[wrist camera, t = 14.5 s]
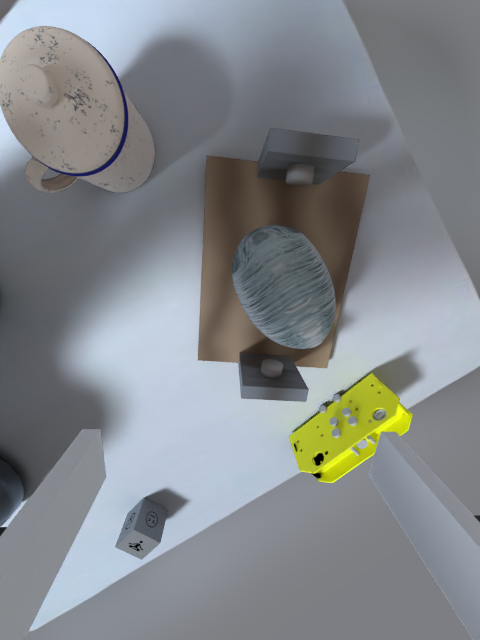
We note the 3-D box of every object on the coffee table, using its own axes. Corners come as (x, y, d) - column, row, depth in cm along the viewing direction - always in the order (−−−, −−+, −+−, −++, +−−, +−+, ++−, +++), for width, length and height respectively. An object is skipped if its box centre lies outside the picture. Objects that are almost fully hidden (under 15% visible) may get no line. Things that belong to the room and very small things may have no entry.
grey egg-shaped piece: (205, 244, 26) (221, 289, 18) (283, 194, 25) (336, 219, 17) (258, 324, 34) (284, 378, 27) (318, 289, 33) (364, 335, 25)
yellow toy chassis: (366, 368, 36) (405, 403, 28) (387, 391, 38) (429, 430, 30) (285, 431, 39) (300, 478, 31) (307, 450, 40) (327, 500, 33)
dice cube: (127, 513, 43) (115, 547, 38) (144, 497, 42) (133, 529, 37) (151, 525, 44) (141, 559, 39) (167, 509, 43) (160, 542, 38)
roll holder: (199, 355, 34) (188, 395, 25) (207, 160, 27) (197, 118, 18) (323, 363, 35) (355, 404, 26) (362, 178, 28) (425, 148, 19)
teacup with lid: (110, 75, 24) (12, -65, 13) (175, 155, 27) (138, 93, 16) (37, 163, 26) (-101, 105, 15) (103, 230, 29) (25, 222, 18)
